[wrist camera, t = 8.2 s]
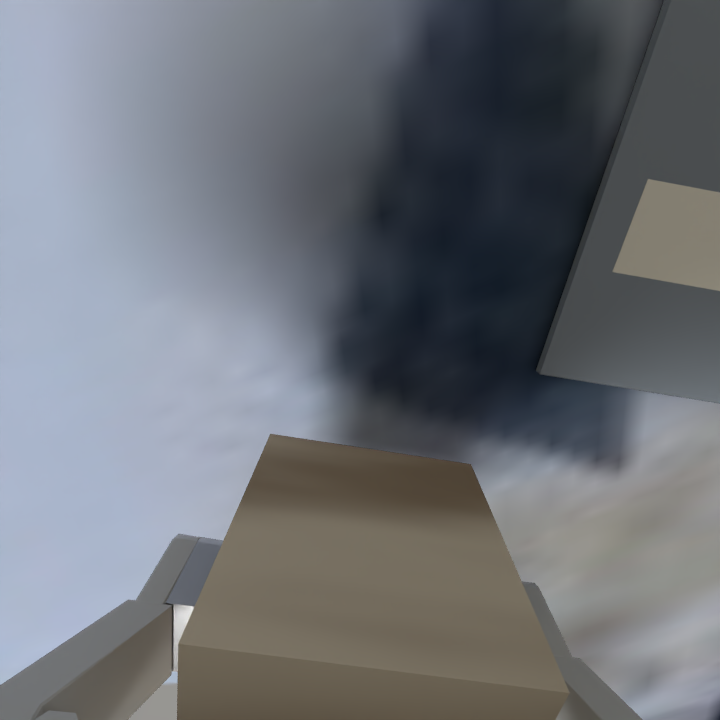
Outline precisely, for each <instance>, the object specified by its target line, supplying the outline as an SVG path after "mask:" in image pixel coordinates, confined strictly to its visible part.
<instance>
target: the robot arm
mask: <svg viewBox="0 0 720 720" xmlns="http://www.w3.org/2000/svg"><path fill="white" fill-rule="evenodd" d="M222 543H223V541H222V540H216V539H210V538H204V537H196V536H189V535H183V534H178V535H177V536H176V537H175V538H173V539H172V541H171V543H170V544H169V546H168V548H167V549H166V551H165V553H164V554H163V556H162V558H161V559H160V561H159V563H158V564H157V566H156V568H155V569H154V571H153V573H152V574H151V576H150V578H149V579H148V581H147V582H146V584H145V586H144V587H143V589H142V591H141V592H140V594H139V596H138V597H137V599H136V600H127V601H125V602H124V603H122V604H121V605H119V606H118V607H116V608H115V609H113V610H112V611H110V612H109V613H107V614H106V615H104V616H103V617H101V618H100V619H99V620H97V621H96V622H94V623H93V624H91V625H90V626H88V627H87V628H85V629H84V630H82V631H81V632H79V633H78V634H76V635H75V636H73V637H72V638H70V639H69V640H67V641H66V642H64V643H63V644H61V645H60V646H58V647H57V648H55V649H54V650H52V651H51V652H49V653H48V654H46V655H45V656H43V657H42V658H40V659H39V660H37V661H36V662H34V663H33V664H31V665H30V666H28V667H27V668H25V669H24V670H22V671H21V672H19V673H18V674H16V675H15V676H13V677H12V678H10V679H9V680H7V681H6V682H4V683H3V684H1V685H0V720H128V719H129V718H130V717H131V716H132V715H133V714H134V713H135V712H136V711H137V709H139V707H141V705H142V704H143V703H144V702H145V701H146V700H147V699H148V698H149V697H150V696H151V695H152V694H153V693H154V692H155V691H156V690H157V689H158V688H159V687H160V686H161V685H162V684H163V683H164V682H165V681H166V680H167V679H168V678H169V677H170V676H171V672H172V671H173V672H178V643H179V641H180V639H181V636H182V634H183V632H184V629H185V627H186V625H187V623H188V620H189V618H190V616H191V614H192V611H193V609H194V607H195V604H196V602H197V600H198V598H199V595H200V593H201V591H202V589H203V586H204V584H205V582H206V579H207V577H208V575H209V573H210V570H211V568H212V566H213V563H214V561H215V559H216V557H217V554H218V552H219V550H220V548H221V545H222ZM522 584H523V586H524V588H525V591H526V593H527V595H528V598H529V600H530V602H531V604H532V607H533V609H534V611H535V614H536V616H537V618H538V621H539V623H540V625H541V628H542V630H543V632H544V635H545V637H546V639H547V641H548V644H549V646H550V648H551V651H552V653H553V655H554V658H555V660H556V662H557V665H558V667H559V669H560V671H561V674H562V676H563V678H564V681H565V683H566V685H567V688H568V690H569V692H570V693H569V695H568V697H567V699H566V701H565V703H564V705H563V707H562V708H561V710H560V712H559V714H558V716H557V718H556V720H642V719H641V718H640V717H639V716H638V715H637V714H636V713H635V712H634V711H633V710H632V709H631V708H630V707H629V706H628V705H627V704H626V703H625V702H624V701H623V700H622V699H621V698H620V697H619V696H618V695H617V694H616V693H615V692H614V691H613V690H612V689H611V688H610V687H608V686H607V685H606V684H605V683H604V682H603V681H602V680H601V679H600V678H599V677H598V676H597V675H596V674H595V673H594V672H593V671H592V670H591V669H590V668H589V667H588V666H587V665H586V664H585V663H584V662H583V661H582V660H581V659H580V658H575V657H572V655H571V653H570V651H569V649H568V647H567V645H566V643H565V641H564V639H563V637H562V635H561V632H560V630H559V628H558V626H557V624H556V622H555V620H554V618H553V616H552V614H551V612H550V610H549V608H548V606H547V603H546V601H545V599H544V597H543V595H542V593H541V591H540V589H539V587H538V586H537V585H536V584H535V583H530V582H523V581H522Z"/></svg>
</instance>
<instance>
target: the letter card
mask: <svg viewBox="0 0 720 720" xmlns="http://www.w3.org/2000/svg"><path fill="white" fill-rule="evenodd" d="M536 371H537V372H538V373H539V374H542V375H548V376H554V377H560V378H566V379H573V380H579V381H585V382H591V383H597V384H603V385H609V386H615V387H621V388H628V389H634V390H640V391H646V392H652V393H658V394H664V395H670V396H676V397H683V398H689V399H695V400H701V401H707V402H713V403H719V404H720V0H664V2H663V5H662V8H661V11H660V14H659V17H658V19H657V22H656V25H655V28H654V31H653V34H652V37H651V40H650V42H649V45H648V48H647V51H646V54H645V57H644V60H643V63H642V66H641V68H640V71H639V74H638V77H637V80H636V83H635V86H634V89H633V92H632V94H631V97H630V100H629V103H628V106H627V109H626V112H625V115H624V118H623V120H622V123H621V126H620V129H619V132H618V135H617V138H616V141H615V144H614V146H613V149H612V152H611V155H610V158H609V161H608V164H607V167H606V170H605V172H604V175H603V178H602V181H601V184H600V187H599V190H598V193H597V196H596V198H595V201H594V204H593V207H592V210H591V213H590V216H589V219H588V221H587V224H586V227H585V230H584V233H583V236H582V239H581V242H580V245H579V247H578V250H577V253H576V256H575V259H574V262H573V265H572V268H571V271H570V273H569V276H568V279H567V282H566V285H565V288H564V291H563V294H562V297H561V299H560V302H559V305H558V308H557V311H556V314H555V317H554V320H553V323H552V325H551V328H550V331H549V334H548V337H547V340H546V343H545V346H544V349H543V351H542V354H541V357H540V360H539V363H538V366H537V369H536Z"/></svg>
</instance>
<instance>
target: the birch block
mask: <svg viewBox="0 0 720 720" xmlns="http://www.w3.org/2000/svg"><path fill="white" fill-rule="evenodd" d="M569 693H570V692H569V690H568V688H567V685H566V683H565V681H564V678H563V676H562V674H561V671H560V669H559V667H558V665H557V662H556V660H555V658H554V655H553V653H552V651H551V648H550V646H549V644H548V641H547V639H546V637H545V635H544V632H543V630H542V628H541V625H540V623H539V621H538V618H537V616H536V614H535V611H534V609H533V607H532V604H531V602H530V600H529V598H528V595H527V593H526V591H525V588H524V586H523V584H522V581H521V579H520V577H519V574H518V572H517V570H516V568H515V565H514V563H513V561H512V558H511V556H510V554H509V551H508V549H507V547H506V544H505V542H504V540H503V537H502V535H501V533H500V531H499V528H498V526H497V524H496V521H495V519H494V517H493V514H492V512H491V510H490V507H489V505H488V503H487V501H486V498H485V496H484V494H483V491H482V489H481V487H480V484H479V482H478V480H477V477H476V475H475V473H474V470H473V468H472V466H471V464H466V463H460V462H453V461H447V460H440V459H433V458H427V457H420V456H413V455H407V454H400V453H394V452H387V451H380V450H374V449H367V448H360V447H354V446H347V445H341V444H334V443H327V442H321V441H314V440H307V439H301V438H294V437H288V436H281V435H274V434H270V436H269V438H268V441H267V443H266V445H265V447H264V450H263V452H262V454H261V457H260V459H259V461H258V463H257V466H256V468H255V470H254V472H253V475H252V477H251V479H250V482H249V484H248V486H247V488H246V491H245V493H244V495H243V498H242V500H241V502H240V504H239V507H238V509H237V511H236V513H235V516H234V518H233V520H232V523H231V525H230V527H229V529H228V532H227V534H226V536H225V538H224V541H223V543H222V545H221V548H220V550H219V552H218V554H217V557H216V559H215V561H214V563H213V566H212V568H211V570H210V573H209V575H208V577H207V579H206V582H205V584H204V586H203V589H202V591H201V593H200V595H199V598H198V600H197V602H196V604H195V607H194V609H193V611H192V614H191V616H190V618H189V620H188V623H187V625H186V627H185V629H184V632H183V634H182V636H181V639H180V641H179V643H178V695H177V697H178V698H177V720H556V718H557V716H558V714H559V712H560V710H561V708H562V707H563V705H564V703H565V701H566V699H567V697H568V695H569Z"/></svg>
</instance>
